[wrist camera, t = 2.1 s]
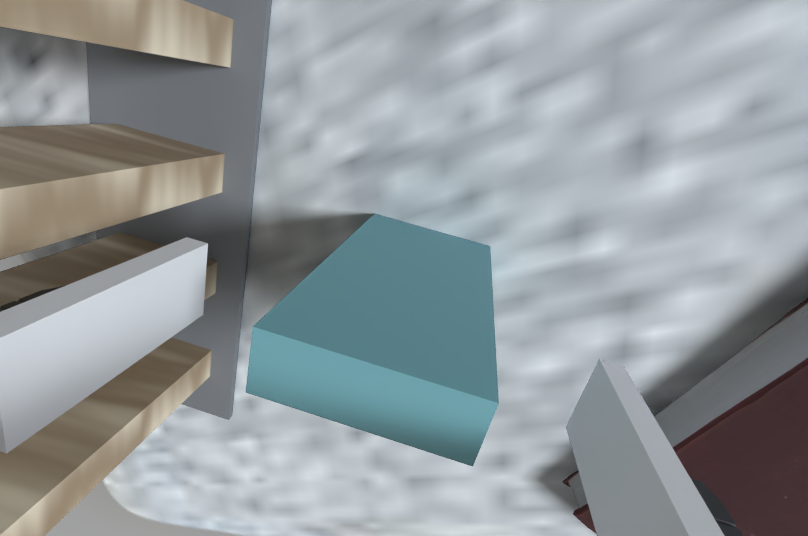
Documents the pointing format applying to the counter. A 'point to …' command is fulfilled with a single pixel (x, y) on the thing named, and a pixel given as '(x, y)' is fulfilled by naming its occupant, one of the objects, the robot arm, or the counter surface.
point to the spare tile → (388, 339)
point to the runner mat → (208, 128)
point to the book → (746, 433)
